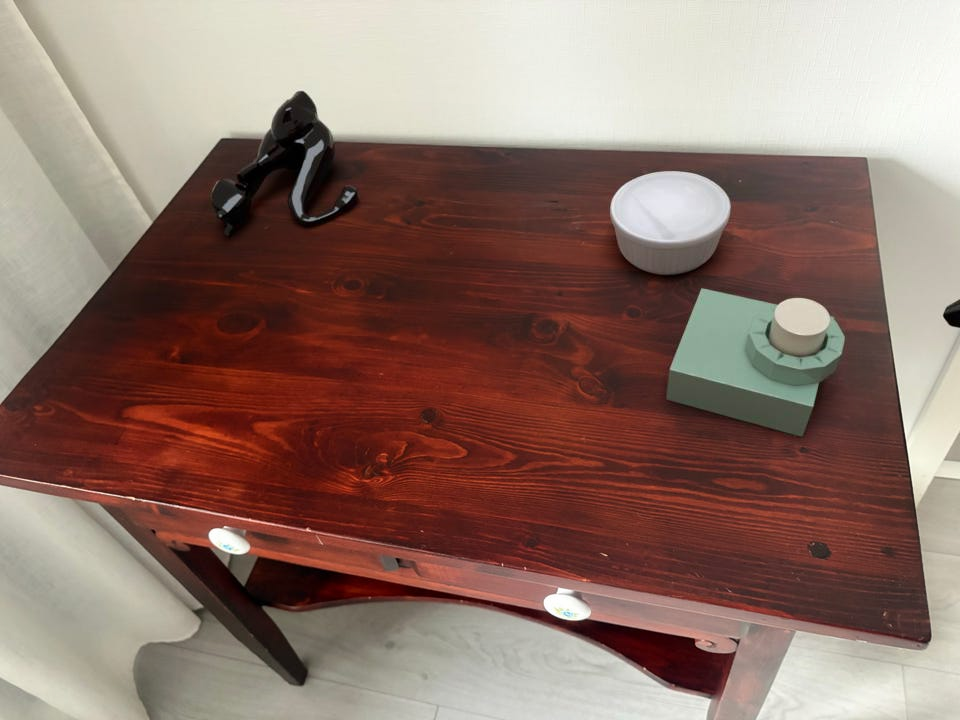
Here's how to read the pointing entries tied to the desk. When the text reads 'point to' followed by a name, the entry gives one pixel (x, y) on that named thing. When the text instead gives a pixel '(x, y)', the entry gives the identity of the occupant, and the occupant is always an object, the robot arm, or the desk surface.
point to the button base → (747, 365)
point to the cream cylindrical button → (799, 327)
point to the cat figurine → (285, 166)
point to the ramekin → (669, 221)
